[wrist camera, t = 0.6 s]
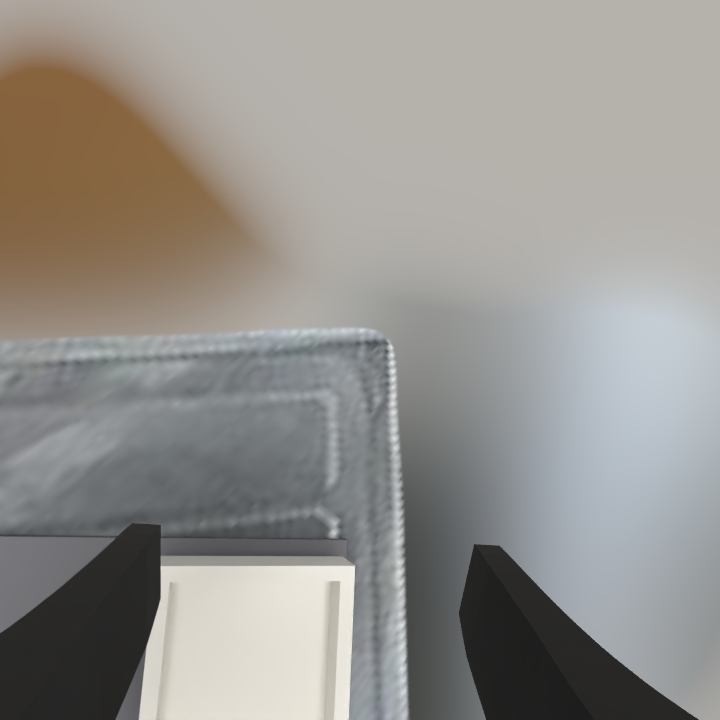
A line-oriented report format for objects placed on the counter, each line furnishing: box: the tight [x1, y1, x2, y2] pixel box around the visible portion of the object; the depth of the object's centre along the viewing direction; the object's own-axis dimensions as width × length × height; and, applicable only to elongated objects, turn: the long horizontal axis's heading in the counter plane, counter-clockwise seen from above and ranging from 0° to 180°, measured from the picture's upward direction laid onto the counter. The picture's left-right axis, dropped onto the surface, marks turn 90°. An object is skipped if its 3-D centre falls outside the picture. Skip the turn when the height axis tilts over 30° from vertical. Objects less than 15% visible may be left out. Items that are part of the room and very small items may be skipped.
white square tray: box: [139, 556, 355, 720], centre depth 31 cm, size 11×11×5 cm
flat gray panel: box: [0, 535, 347, 720], centre depth 32 cm, size 12×23×1 cm, turn 87°
